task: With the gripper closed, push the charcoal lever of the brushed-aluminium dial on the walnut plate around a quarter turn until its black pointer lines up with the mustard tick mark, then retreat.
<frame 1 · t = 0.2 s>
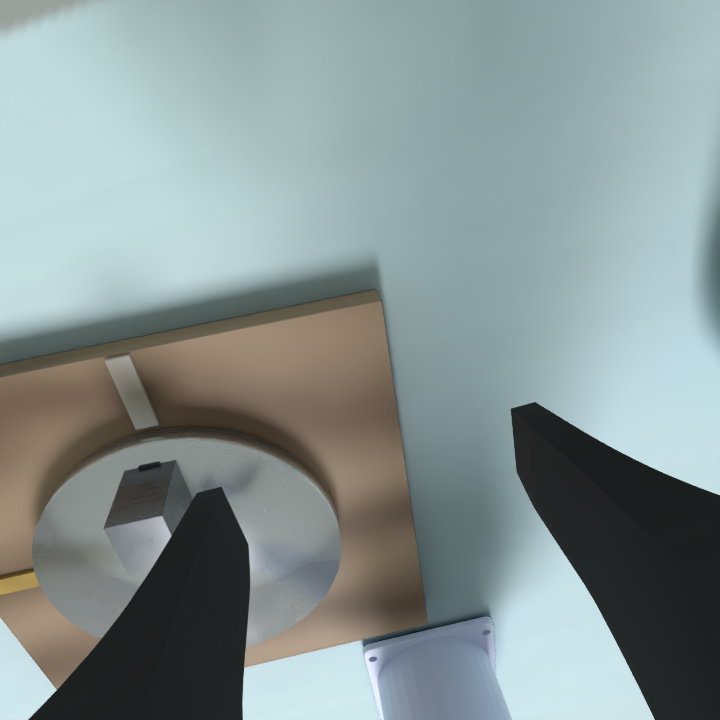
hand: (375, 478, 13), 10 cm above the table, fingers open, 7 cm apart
plate: (201, 521, 26), on the table
dial: (192, 580, 23), point 3 cm above the table, hinge at 0.0°
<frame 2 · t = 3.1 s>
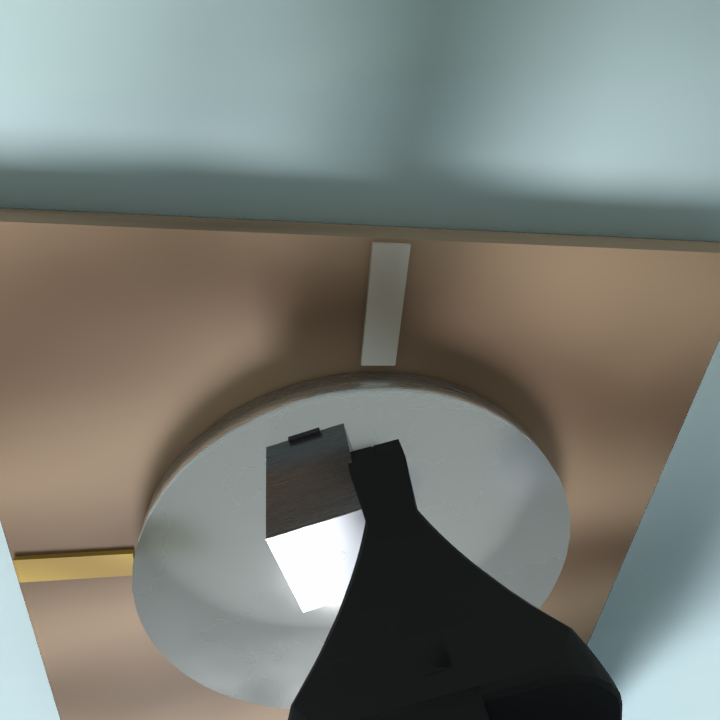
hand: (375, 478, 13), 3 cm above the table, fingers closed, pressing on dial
plate: (351, 520, 18), on the table
dial: (368, 607, 15), point 3 cm above the table, hinge at 19.9°, touching gripper
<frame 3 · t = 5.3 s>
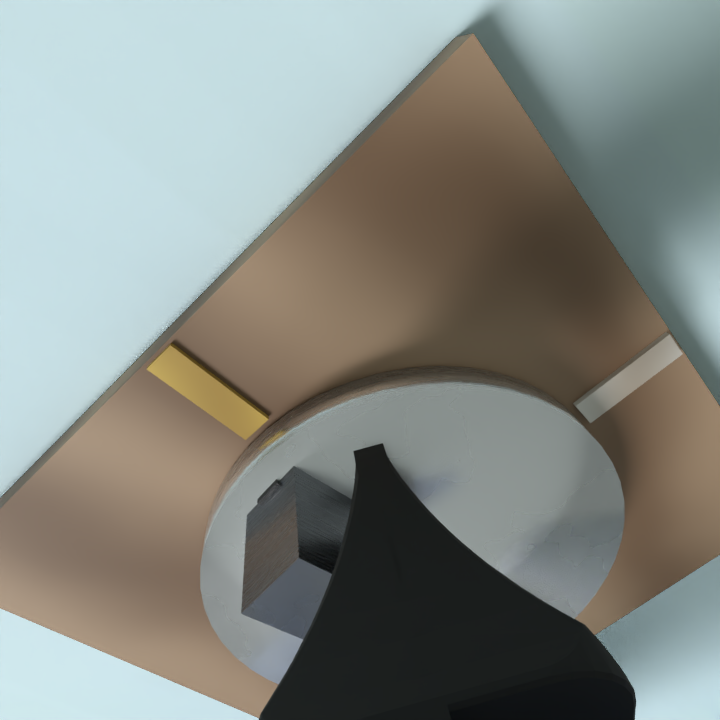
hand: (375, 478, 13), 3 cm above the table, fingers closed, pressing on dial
plate: (403, 514, 18), on the table
dial: (428, 597, 15), point 3 cm above the table, hinge at 96.0°, touching gripper
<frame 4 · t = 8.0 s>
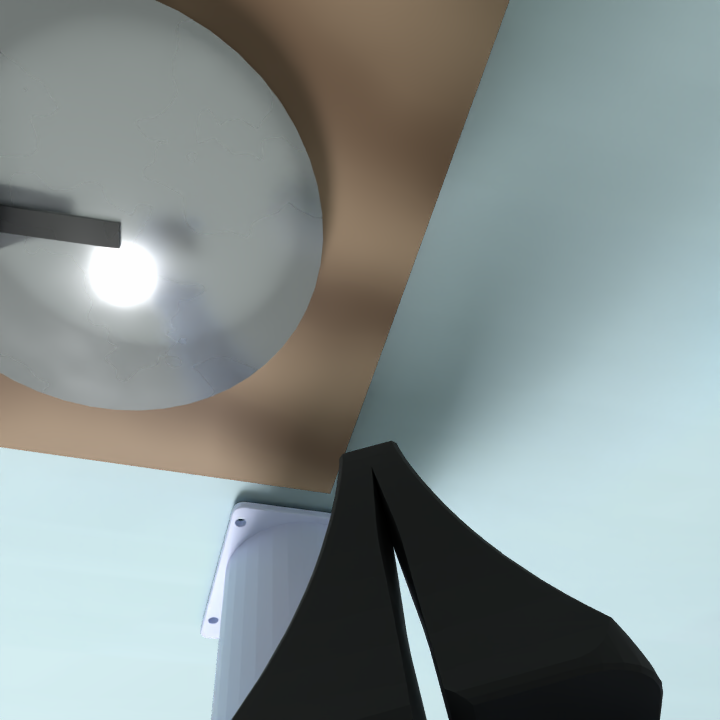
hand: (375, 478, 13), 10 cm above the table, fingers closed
plate: (131, 215, 19), on the table
dial: (105, 242, 16), point 3 cm above the table, hinge at 96.3°
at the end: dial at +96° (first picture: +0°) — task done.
